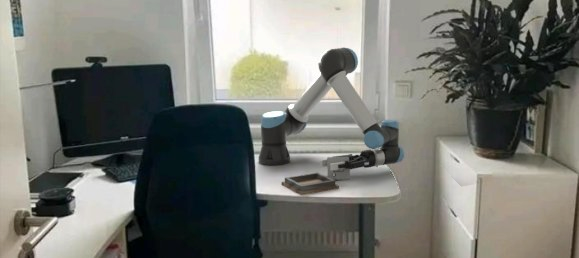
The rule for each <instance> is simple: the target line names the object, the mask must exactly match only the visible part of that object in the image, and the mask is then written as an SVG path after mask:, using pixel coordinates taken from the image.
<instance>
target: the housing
mask: <svg viewBox="0 0 579 258" xmlns="http://www.w3.org/2000/svg"><path fill="white" fill-rule="evenodd" d="M336 180H337V179H334V180H333V179H331V178H329V177H327V176H326V175H324V174H321V173H320V172H312V173H306V174H300V175H295V176H289V177H288V176H287V177H286V176H285V177H284V181H281V185H282V186H284V187H286V188H287V189H289V190H292V191H293V192H295V193H297V194H299V195H301V196H303V195H310V194H315V193H320V192H327V191H331V190H337V189H340V185H339V184H337V181H336Z"/></svg>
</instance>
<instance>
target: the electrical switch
mask: <svg viewBox="0 0 579 258" xmlns="http://www.w3.org/2000/svg"><path fill="white" fill-rule="evenodd" d="M326 159H327V166H326V167H327V168H326V169H327V177H329V178H331V179H333V180H349V179H350V178H351V172H350V171H351V169H349V168H348V169H346V168H344V169H338V170H332V171H331V170H330V164H332V163H339V162H345V161H349V157H333V156H330V157H329V156H328V157H326Z"/></svg>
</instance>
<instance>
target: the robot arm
mask: <svg viewBox="0 0 579 258" xmlns="http://www.w3.org/2000/svg"><path fill="white" fill-rule="evenodd" d="M358 64H359V60H358V56H357V54H356V52H355V51H354V50H353V49H351V48H349V47H340V48H339V47H338V48H330V49H326V50H324V51H323V52H322V53H321V54H320V56H319V58H318V70H319V73H318V74H317V76H316V77H315V78H314V79H313V81H312V82H311V83H310V84H309V86H308V87H307V88H306V89H305V90H304V92H303V93H302V95H300V96H299V98H298V99H297V101H296V102H295V103H290V104H289V105H288V106H287V108H286V109H285V110H284V111H281V110H275V111H274V110H273V111H268V112H265V113H263V114H262V115H261V118H260V128H261V129H260V132H261V133H260V134H261V146H260V147H261V148H260V151H259V153H258V154H259V155H258V163H259V164H260V165H265V166H267V165H268V166H281V165H286V164H288V163H290V162H291V155H290V152H289V149H288V146H287V137H290V136H292V135H297V134H300V133H301V132H303V131H304V130H305V129H306V127H307V122H308V121H309V115H310V114H311V113H312V111H313V110H314V109H315V108H316V107H317V105H318V104H319V103H320V102H321V101H322V100H323V98H324V97H325V96H326V95H327V94H328V93H329V91H330V90H331V89H333V91H334V93H335V94H336V95H337V96H338V98H339V99H340V101H341V103H342V104H343V106H344V107H345V108H346V110H347V111H348V113H349V114H350V117H352V119H353V121H354V123H356V124H357V126H358V128H359V129H360V130H361V132H362V134H363V142H364V143H363V144H364V145H365V146H366V147H367V148H369V149H366V150H364V149H363V150H362V151H361V152H360V153H359V154H355V155H353V154H352V153H348V154H345V155H335V156H332V157H349V161H345V162H339V163H332V164H330V170H331V171H332V170H338V169H344V168H346V169H348V168H349V169H350V170H354V169H359V168H364V169H367V168H373V167H376V168H378V167H379V166H385V165H392V164H397V163H400V162H402V161H403V160H404V157H405V152H404V148H403V147H402V146H401V145H399V138H400V136H399V135H400V134H399V133H400V127H399V124H400V123H399V121H398V120H396V119H383V120H382V121H381V125H380V124H379V123H378V122H377V120H376V119H375V117H374V116H373V114H372V112H371V111H370V109H369V108H368V107H367V106H366V104H365V102H364V101H363V100H362V98H361V96H360V95H359V93H358V92H357V90H356V89H355V88H354V86H353V84H352V83H351V81H350V80H349V79H348V77H347V75H348V74H351V73H353V72H355V71H356V69H357V67H358ZM320 167H327V158H325V159H320Z"/></svg>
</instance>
